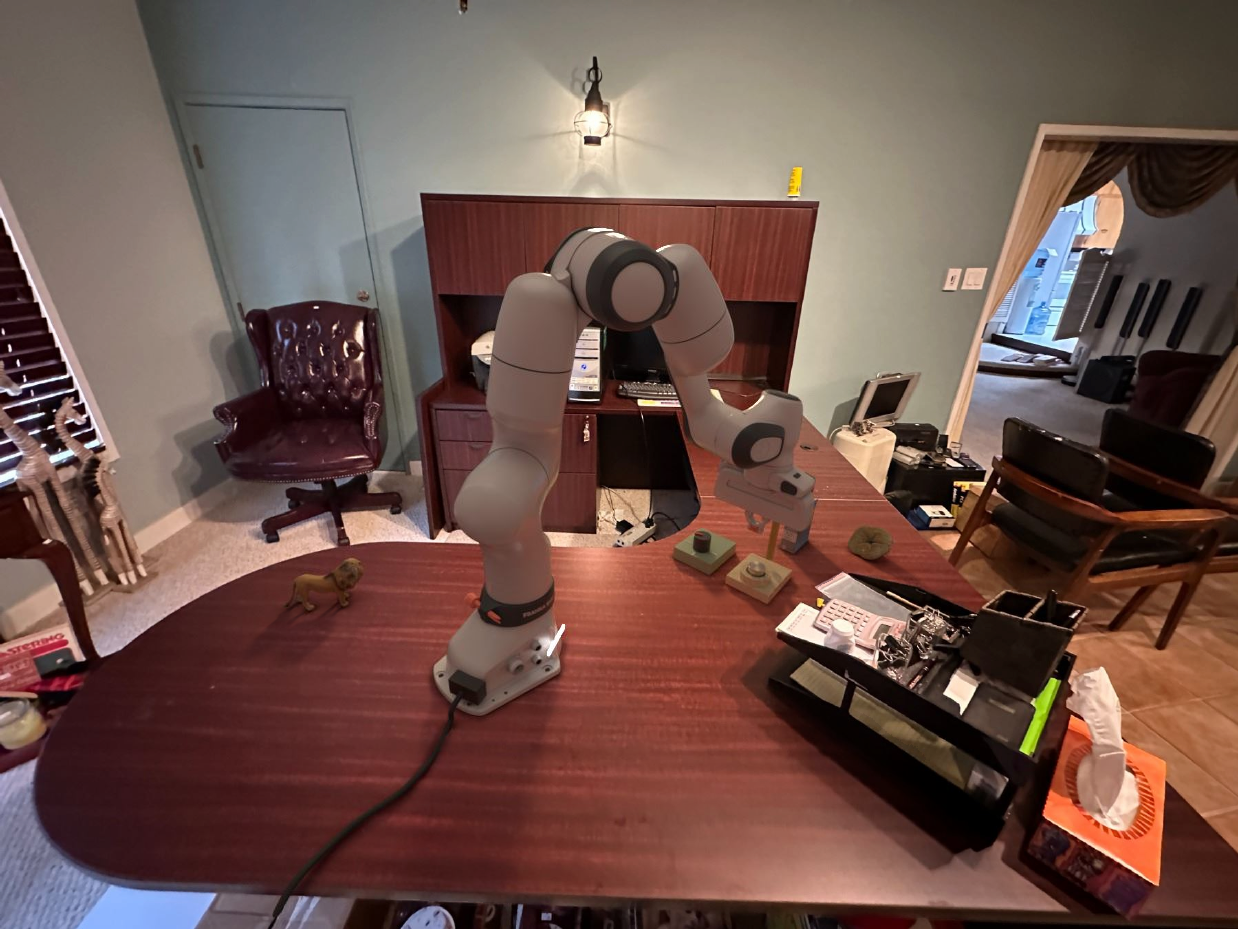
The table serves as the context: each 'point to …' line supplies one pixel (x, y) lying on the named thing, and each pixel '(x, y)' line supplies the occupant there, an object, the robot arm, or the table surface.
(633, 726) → the table surface
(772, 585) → the lamp base
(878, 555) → the fossil
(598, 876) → the table surface
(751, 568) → the lamp button
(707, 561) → the dimmer panel
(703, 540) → the dimmer knob
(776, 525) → the lamp
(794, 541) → the blue box
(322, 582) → the lion figurine
